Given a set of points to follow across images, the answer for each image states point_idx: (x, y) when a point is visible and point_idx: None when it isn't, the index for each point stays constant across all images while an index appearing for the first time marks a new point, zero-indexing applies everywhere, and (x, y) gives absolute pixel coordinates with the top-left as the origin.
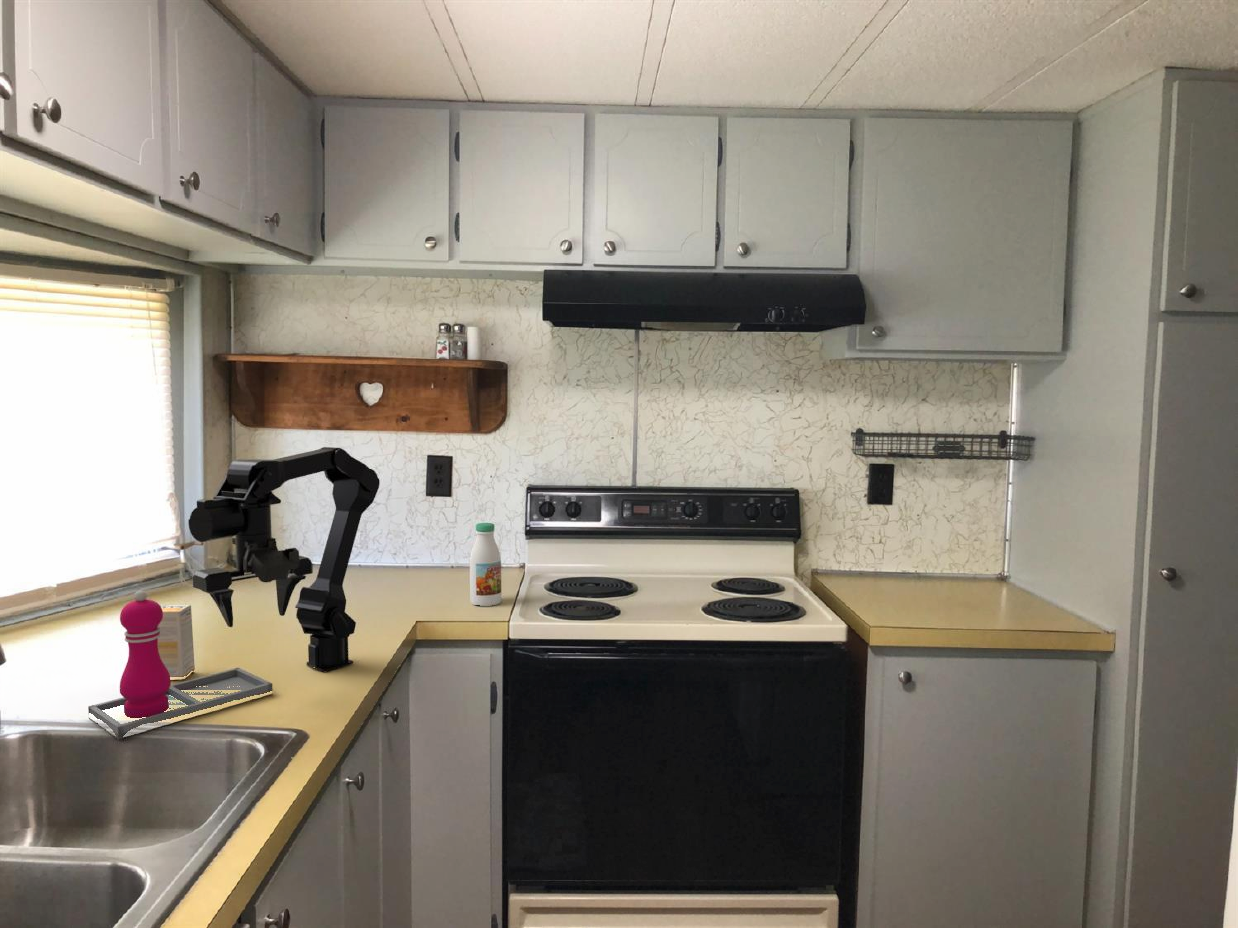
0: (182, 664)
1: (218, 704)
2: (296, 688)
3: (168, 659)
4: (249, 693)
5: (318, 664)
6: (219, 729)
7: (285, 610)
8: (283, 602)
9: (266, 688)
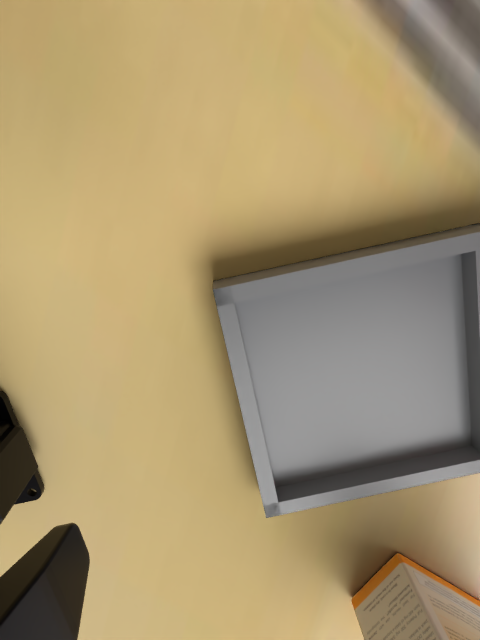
0: (419, 596)
1: (409, 242)
2: (126, 293)
3: (461, 631)
4: (300, 268)
5: (6, 430)
6: (458, 50)
7: (29, 552)
8: (6, 630)
9: (235, 282)
